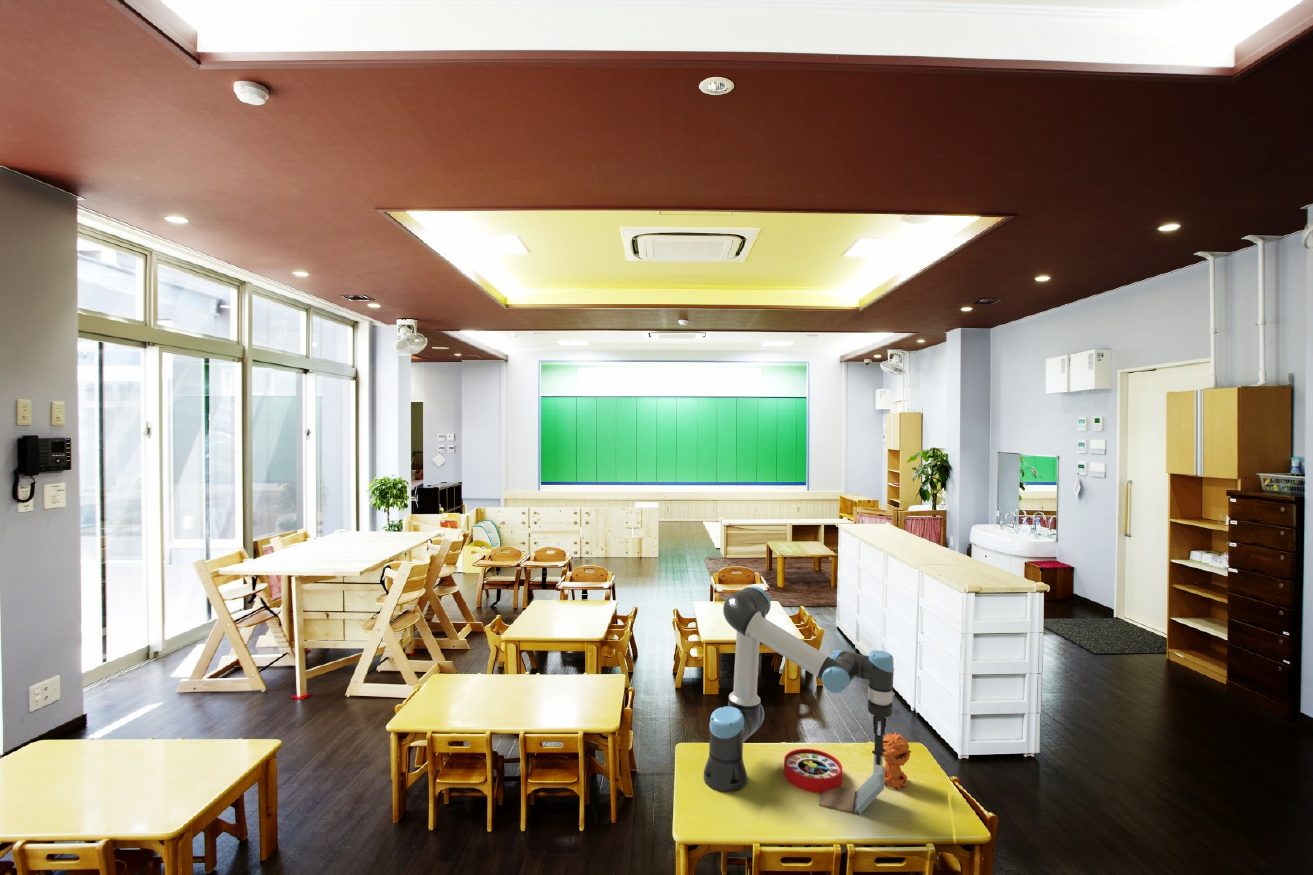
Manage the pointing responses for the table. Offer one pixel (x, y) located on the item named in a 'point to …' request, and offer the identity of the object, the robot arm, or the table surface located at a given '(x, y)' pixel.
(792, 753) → the toy clock
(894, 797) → the table surface
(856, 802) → the hinge leaf
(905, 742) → the orange figurine
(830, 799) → the hinge base
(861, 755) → the table surface
